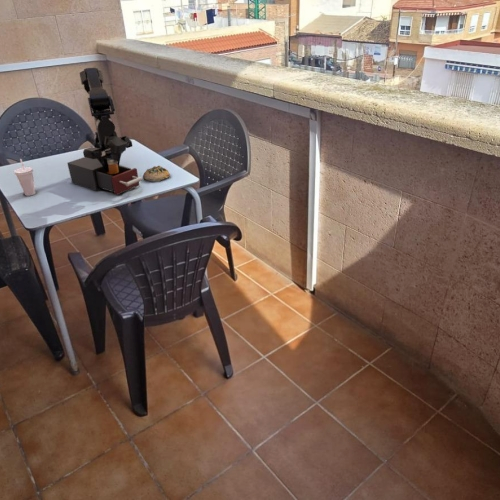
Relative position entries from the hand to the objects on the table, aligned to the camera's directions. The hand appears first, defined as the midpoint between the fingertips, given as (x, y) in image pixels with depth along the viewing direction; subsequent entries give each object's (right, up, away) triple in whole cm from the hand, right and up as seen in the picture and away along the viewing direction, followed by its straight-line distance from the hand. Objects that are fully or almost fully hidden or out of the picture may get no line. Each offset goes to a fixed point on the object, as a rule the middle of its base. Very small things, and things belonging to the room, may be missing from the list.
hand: (112, 169), depth 166 cm
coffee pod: (0, -1, +1) cm, 1 cm away
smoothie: (-32, -9, 0) cm, 33 cm away
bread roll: (+14, -1, +13) cm, 19 cm away
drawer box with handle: (-9, -3, +10) cm, 14 cm away
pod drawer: (+2, -6, +2) cm, 7 cm away
